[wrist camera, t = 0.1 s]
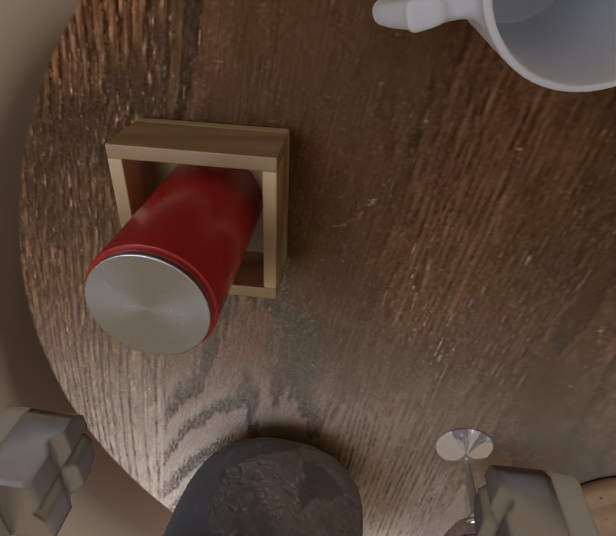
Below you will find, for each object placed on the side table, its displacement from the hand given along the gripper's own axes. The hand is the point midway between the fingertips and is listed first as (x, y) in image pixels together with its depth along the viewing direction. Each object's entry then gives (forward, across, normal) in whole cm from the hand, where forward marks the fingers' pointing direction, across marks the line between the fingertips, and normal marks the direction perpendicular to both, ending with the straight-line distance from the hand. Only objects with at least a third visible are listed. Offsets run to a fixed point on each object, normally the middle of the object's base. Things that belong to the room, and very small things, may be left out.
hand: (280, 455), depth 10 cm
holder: (+23, +8, +6) cm, 25 cm away
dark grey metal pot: (+23, +4, +34) cm, 41 cm away
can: (+22, +8, +6) cm, 24 cm away
